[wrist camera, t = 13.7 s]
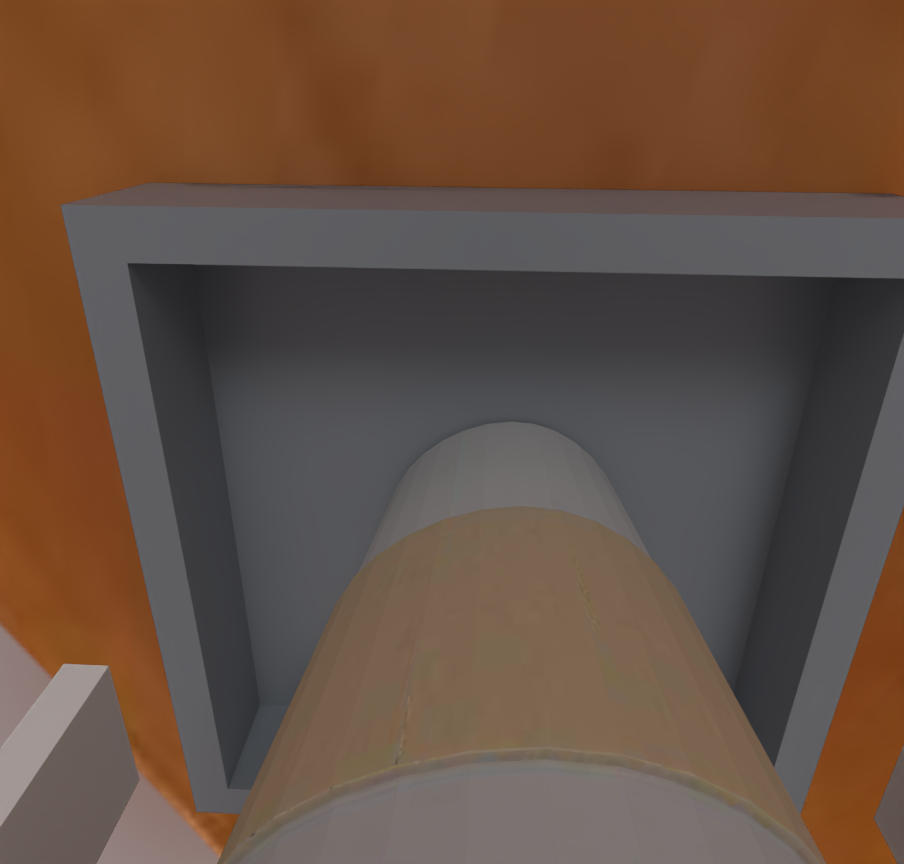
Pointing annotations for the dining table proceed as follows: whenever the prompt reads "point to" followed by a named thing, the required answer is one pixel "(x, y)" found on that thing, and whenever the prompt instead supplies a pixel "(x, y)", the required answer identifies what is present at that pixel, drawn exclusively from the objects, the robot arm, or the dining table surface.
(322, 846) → the coffee cup
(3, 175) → the dining table surface
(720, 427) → the tray
